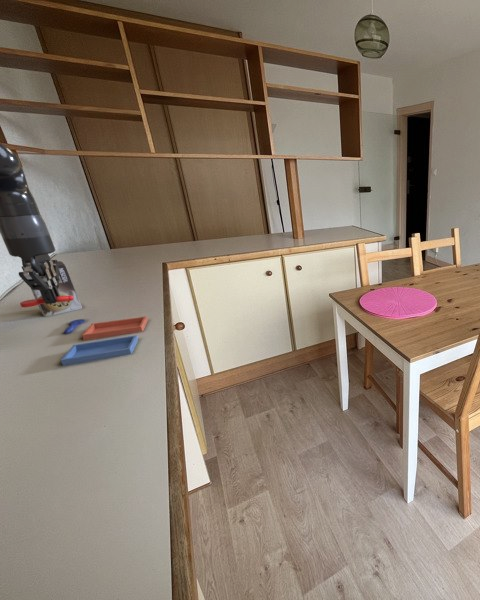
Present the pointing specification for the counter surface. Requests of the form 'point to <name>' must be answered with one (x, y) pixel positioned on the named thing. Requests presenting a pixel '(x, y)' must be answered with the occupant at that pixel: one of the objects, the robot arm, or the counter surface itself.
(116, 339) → the blue tray
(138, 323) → the red tray
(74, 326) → the blue spoon
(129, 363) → the counter surface
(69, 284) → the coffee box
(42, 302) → the red spoon
